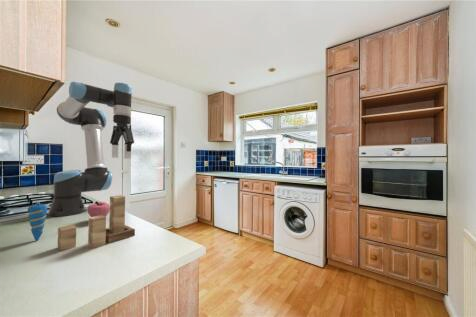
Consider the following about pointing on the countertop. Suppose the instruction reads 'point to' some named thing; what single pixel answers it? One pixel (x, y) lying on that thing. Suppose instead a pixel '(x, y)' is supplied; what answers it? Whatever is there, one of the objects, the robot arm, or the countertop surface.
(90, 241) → the medium pin
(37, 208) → the ornament
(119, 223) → the long pin
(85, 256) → the countertop surface
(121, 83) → the robot arm
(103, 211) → the apple
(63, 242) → the short pin
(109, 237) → the collar block
